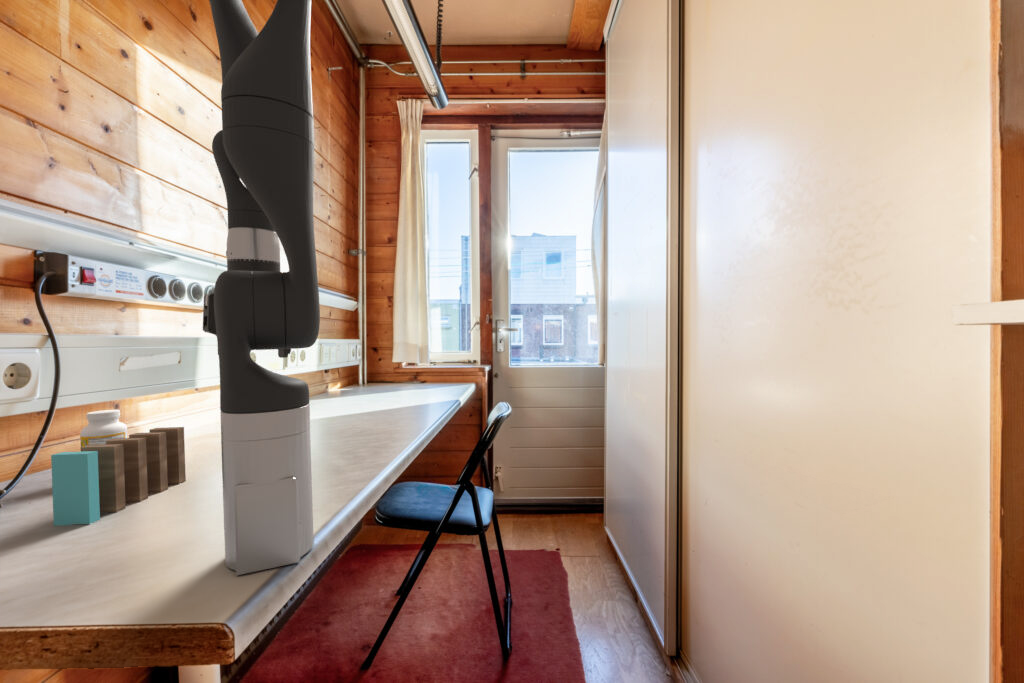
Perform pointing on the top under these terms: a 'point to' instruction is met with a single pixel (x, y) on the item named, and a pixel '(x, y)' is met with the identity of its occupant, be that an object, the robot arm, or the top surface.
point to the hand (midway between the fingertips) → (256, 358)
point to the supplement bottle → (102, 428)
